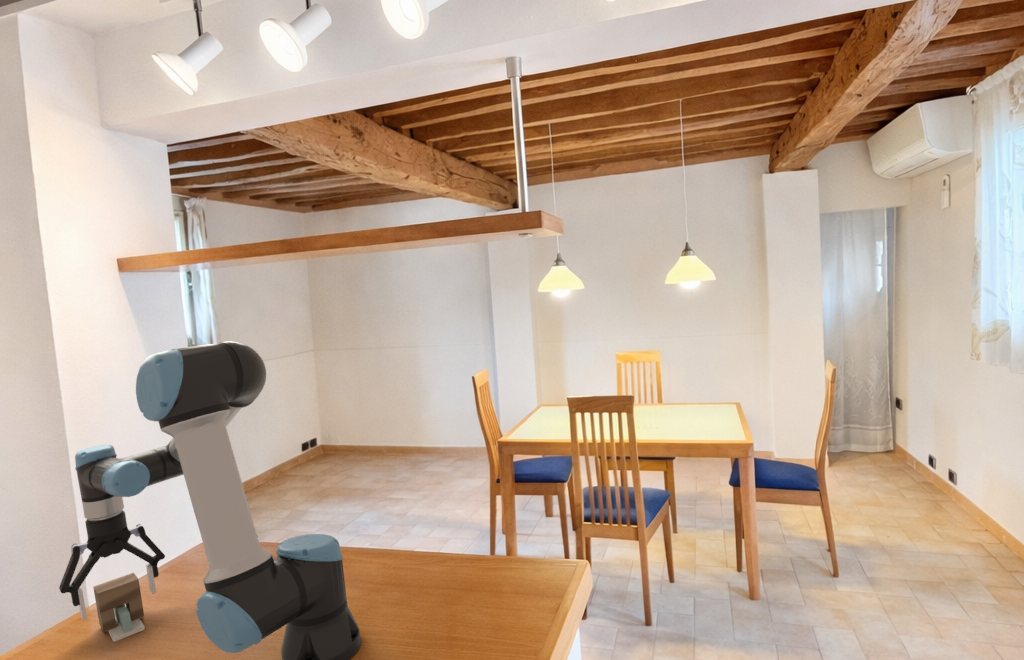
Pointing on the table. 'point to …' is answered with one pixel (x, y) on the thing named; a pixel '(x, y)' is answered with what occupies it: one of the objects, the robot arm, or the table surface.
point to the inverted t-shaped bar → (124, 624)
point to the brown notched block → (118, 599)
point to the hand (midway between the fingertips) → (119, 604)
